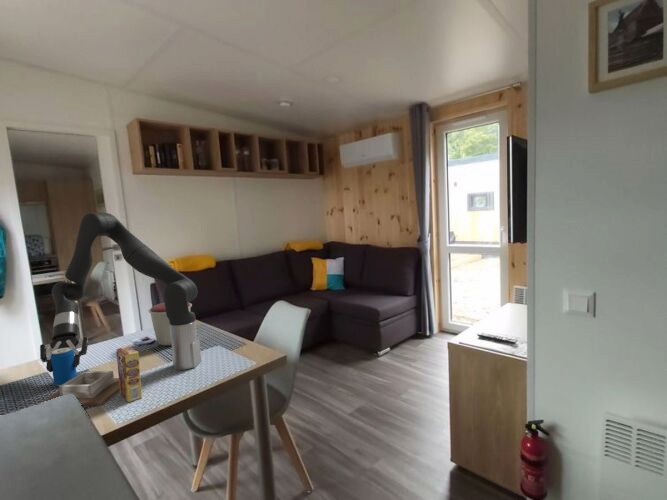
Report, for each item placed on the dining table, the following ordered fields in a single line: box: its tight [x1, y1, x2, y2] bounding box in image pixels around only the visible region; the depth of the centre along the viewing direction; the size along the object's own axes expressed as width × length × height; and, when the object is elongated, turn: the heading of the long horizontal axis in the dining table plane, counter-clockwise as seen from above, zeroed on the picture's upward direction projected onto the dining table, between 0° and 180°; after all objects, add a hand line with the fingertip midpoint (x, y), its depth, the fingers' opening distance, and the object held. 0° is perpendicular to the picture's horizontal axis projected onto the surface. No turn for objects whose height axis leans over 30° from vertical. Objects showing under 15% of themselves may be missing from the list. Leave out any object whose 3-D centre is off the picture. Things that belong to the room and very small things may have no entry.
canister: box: [147, 302, 193, 347], centre depth 157 cm, size 18×18×21 cm
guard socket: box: [39, 370, 120, 407], centre depth 112 cm, size 20×16×5 cm
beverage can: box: [51, 347, 78, 387], centre depth 120 cm, size 6×6×12 cm
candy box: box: [116, 345, 143, 403], centre depth 109 cm, size 9×4×15 cm, turn 47°
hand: (63, 368), depth 118 cm, fingers closed on beverage can, 6 cm apart
